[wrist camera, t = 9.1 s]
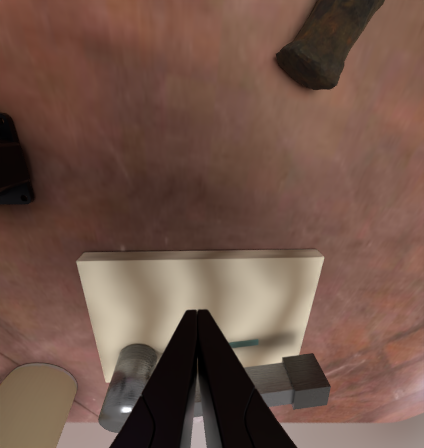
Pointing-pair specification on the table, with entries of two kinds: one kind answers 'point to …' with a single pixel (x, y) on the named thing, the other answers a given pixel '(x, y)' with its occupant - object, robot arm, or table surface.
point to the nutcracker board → (201, 299)
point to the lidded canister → (35, 405)
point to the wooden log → (326, 41)
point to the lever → (146, 362)
